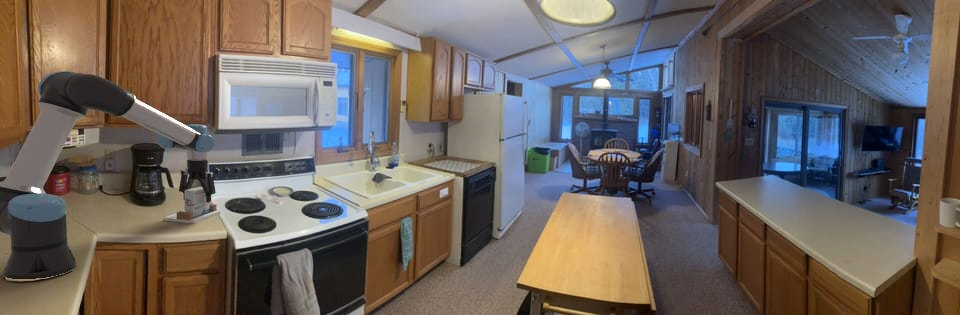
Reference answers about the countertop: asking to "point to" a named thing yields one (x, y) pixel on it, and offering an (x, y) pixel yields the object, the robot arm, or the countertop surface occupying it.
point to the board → (173, 217)
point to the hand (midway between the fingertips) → (197, 208)
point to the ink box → (195, 201)
